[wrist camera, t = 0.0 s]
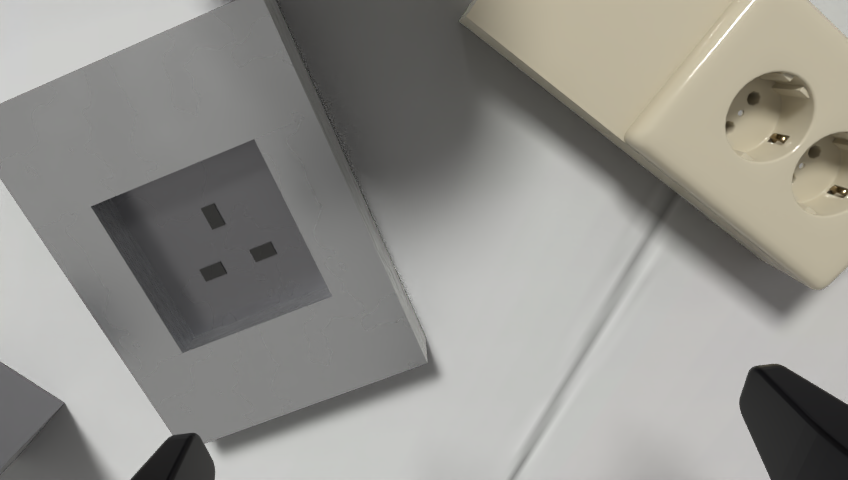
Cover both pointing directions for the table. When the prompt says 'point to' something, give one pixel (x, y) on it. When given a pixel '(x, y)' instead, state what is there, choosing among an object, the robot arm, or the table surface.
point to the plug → (21, 413)
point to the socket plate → (212, 222)
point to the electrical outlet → (706, 107)
